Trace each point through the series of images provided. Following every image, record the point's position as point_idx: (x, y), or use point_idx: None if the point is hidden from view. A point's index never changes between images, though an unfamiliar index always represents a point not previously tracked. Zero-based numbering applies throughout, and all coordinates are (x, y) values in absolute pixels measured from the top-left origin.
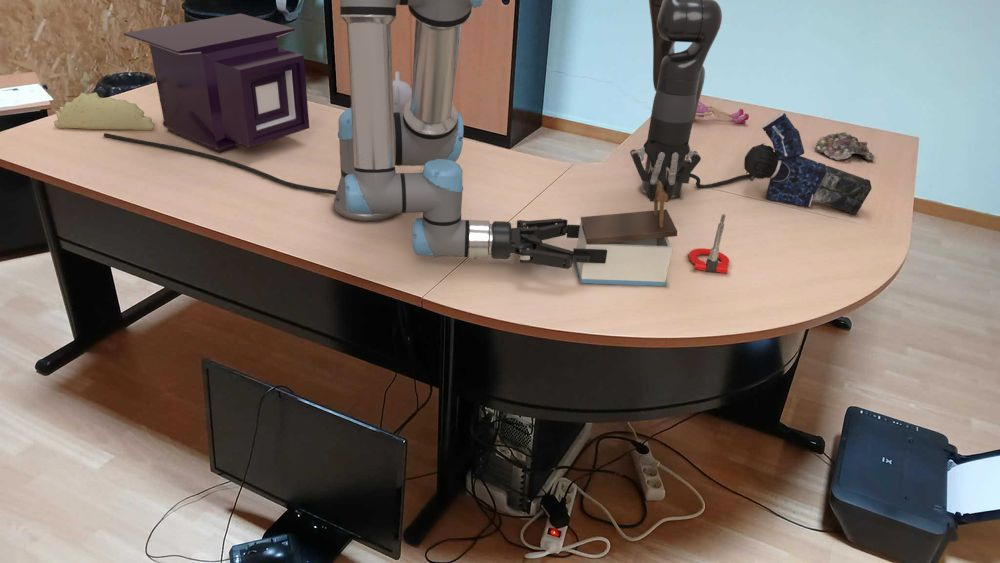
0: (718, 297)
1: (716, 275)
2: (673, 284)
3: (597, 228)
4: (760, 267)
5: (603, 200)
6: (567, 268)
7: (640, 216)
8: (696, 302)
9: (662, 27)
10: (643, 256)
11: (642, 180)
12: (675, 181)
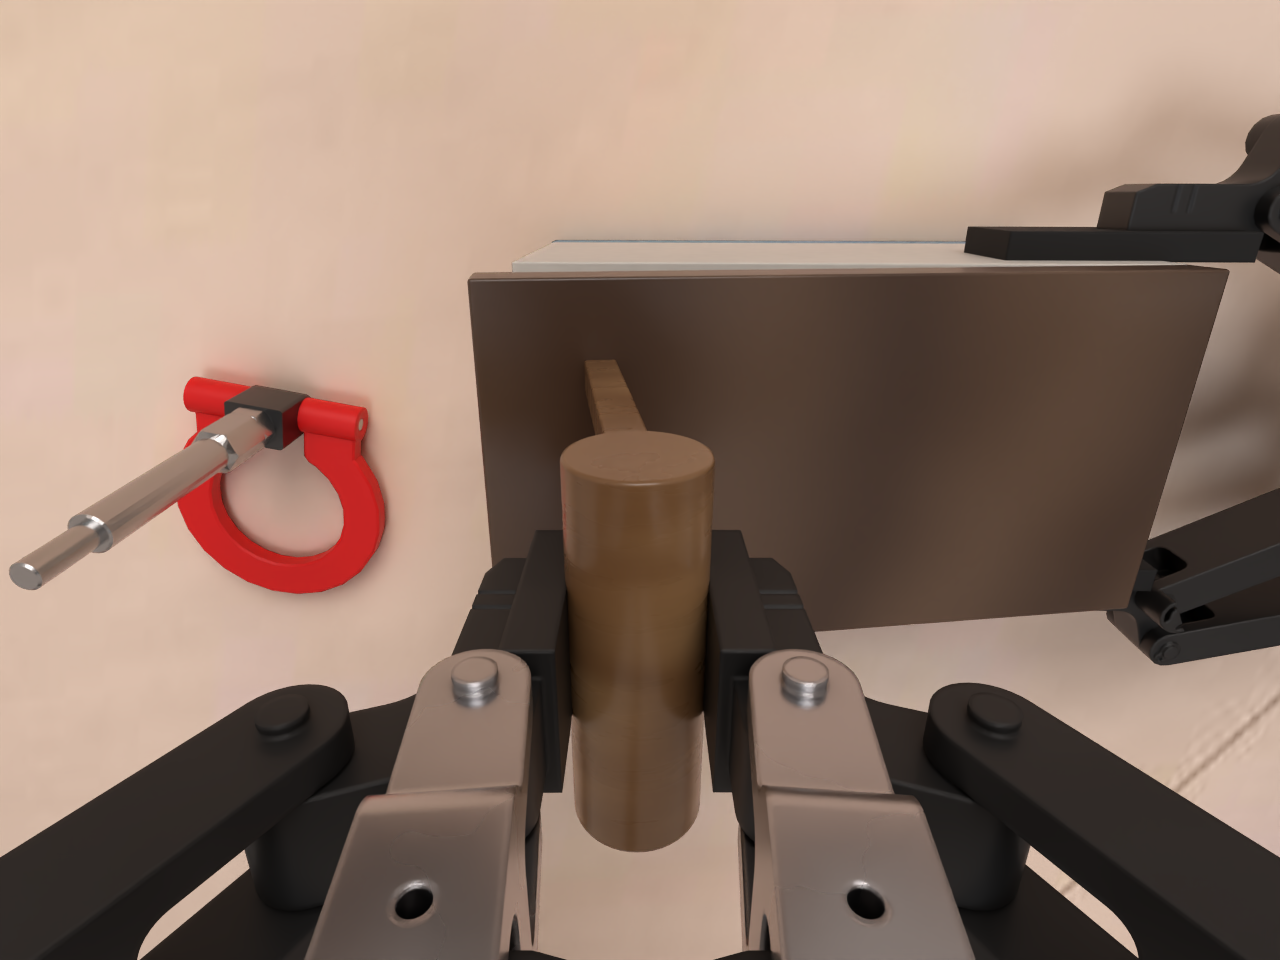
0: (267, 135)
1: (259, 370)
2: (503, 262)
3: (1088, 426)
4: (26, 462)
5: (697, 953)
6: (1278, 114)
7: None
8: (400, 67)
9: None
10: (717, 256)
11: (1006, 690)
12: (407, 713)
